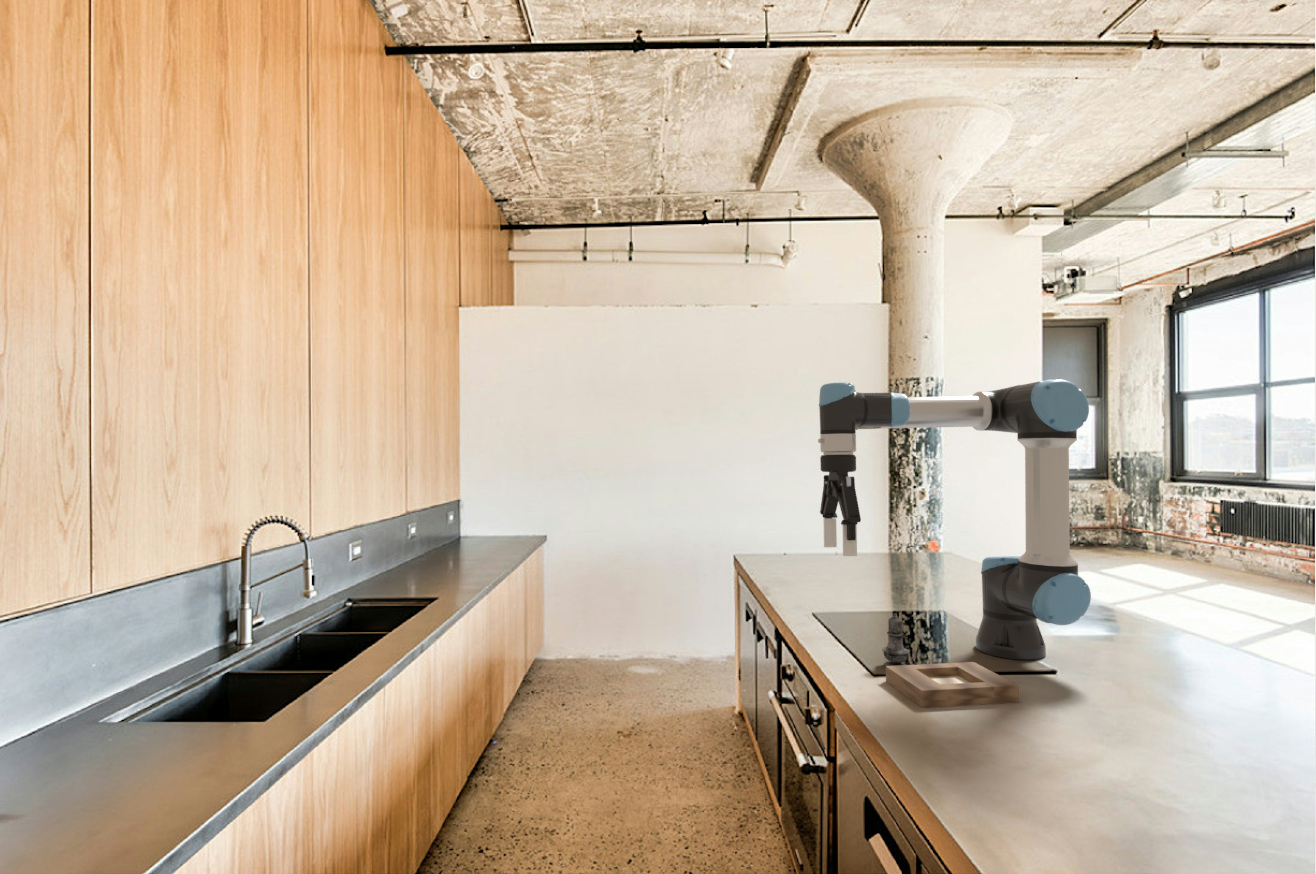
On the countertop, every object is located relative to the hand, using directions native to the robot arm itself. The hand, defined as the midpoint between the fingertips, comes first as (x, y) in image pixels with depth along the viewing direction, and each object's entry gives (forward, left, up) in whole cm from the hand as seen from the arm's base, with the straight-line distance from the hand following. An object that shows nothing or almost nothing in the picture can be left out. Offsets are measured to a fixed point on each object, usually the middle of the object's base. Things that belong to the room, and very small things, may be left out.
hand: (839, 551), depth 144 cm
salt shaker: (-15, -6, -27) cm, 32 cm away
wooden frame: (-18, +11, -27) cm, 35 cm away
